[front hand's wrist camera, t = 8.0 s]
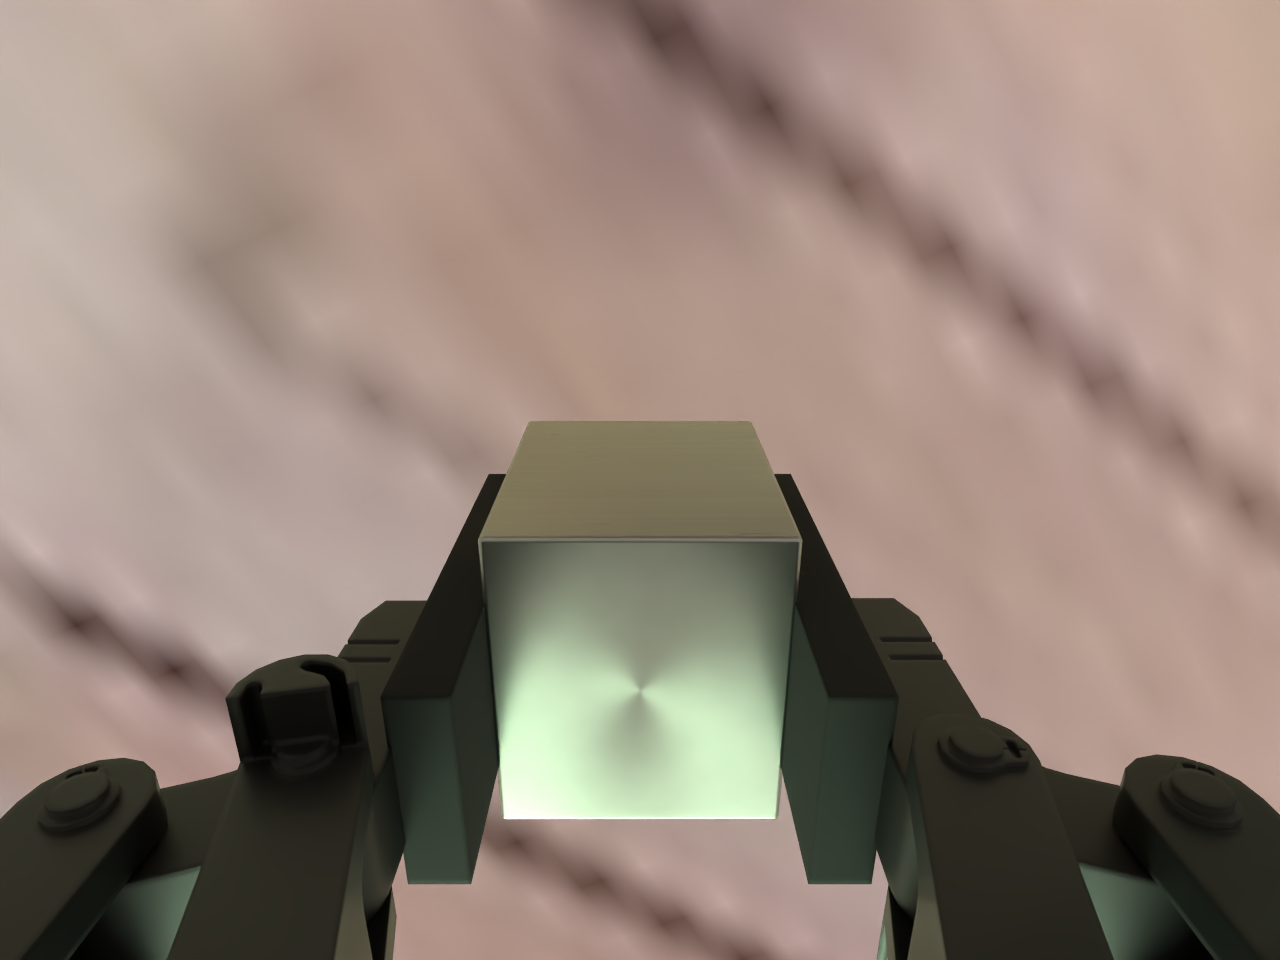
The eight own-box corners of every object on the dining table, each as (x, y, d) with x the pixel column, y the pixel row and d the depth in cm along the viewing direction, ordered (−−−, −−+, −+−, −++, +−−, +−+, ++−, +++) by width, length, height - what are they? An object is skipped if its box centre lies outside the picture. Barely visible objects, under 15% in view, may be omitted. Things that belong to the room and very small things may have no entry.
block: (740, 636, 16) (779, 821, 12) (539, 636, 16) (500, 821, 11) (752, 420, 14) (803, 537, 10) (527, 420, 14) (476, 537, 10)
